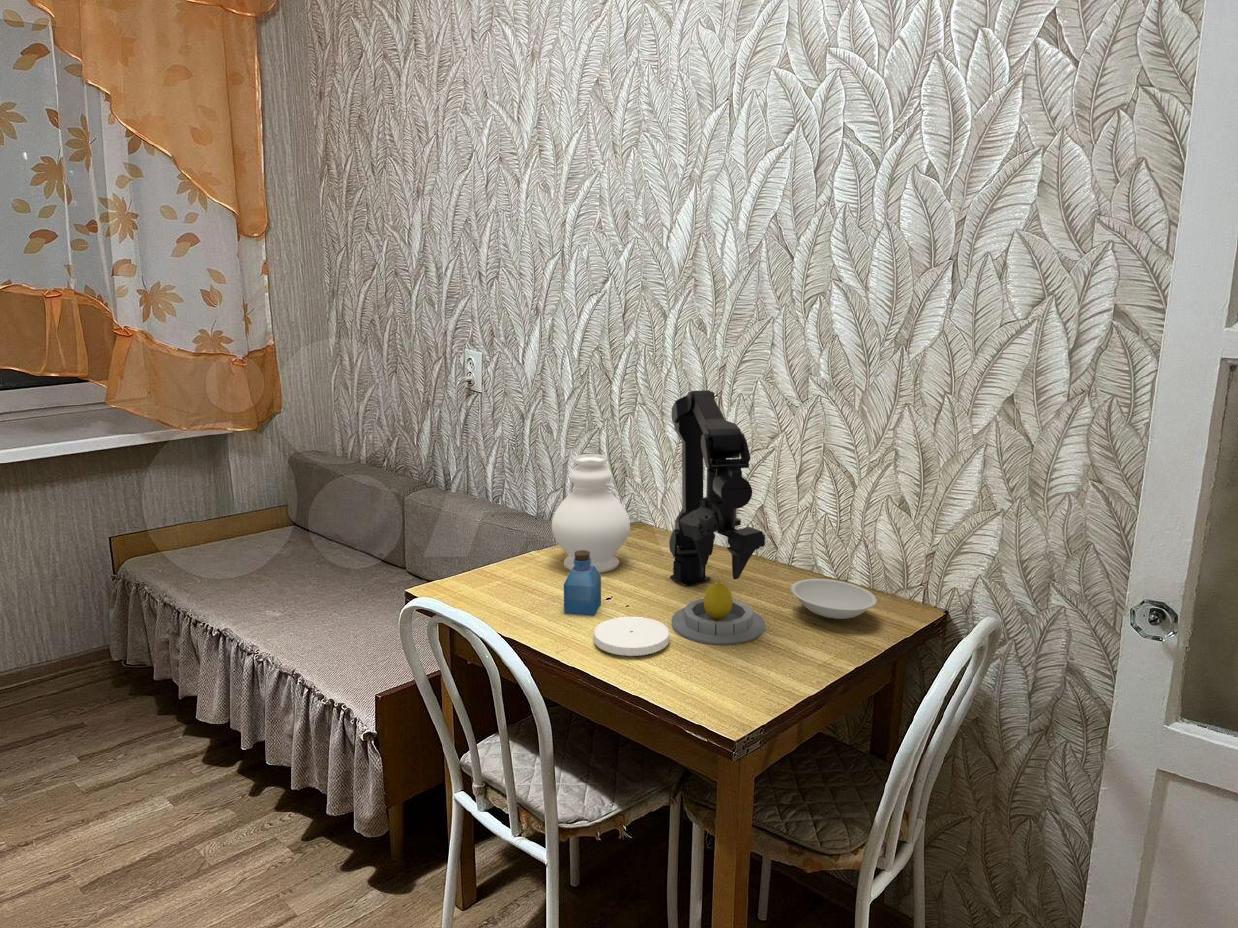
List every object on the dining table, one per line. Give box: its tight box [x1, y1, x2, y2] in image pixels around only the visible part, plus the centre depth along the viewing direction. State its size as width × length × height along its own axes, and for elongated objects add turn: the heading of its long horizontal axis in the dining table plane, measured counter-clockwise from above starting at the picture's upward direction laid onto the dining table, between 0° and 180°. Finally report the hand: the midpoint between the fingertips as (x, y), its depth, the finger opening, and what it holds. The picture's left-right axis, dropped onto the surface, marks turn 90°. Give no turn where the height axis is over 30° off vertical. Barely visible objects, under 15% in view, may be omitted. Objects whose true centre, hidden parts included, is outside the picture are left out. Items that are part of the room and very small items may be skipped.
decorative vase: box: [551, 453, 631, 574], centre depth 215 cm, size 18×18×25 cm
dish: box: [790, 578, 878, 620], centre depth 187 cm, size 18×14×5 cm
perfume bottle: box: [563, 550, 602, 617], centre depth 191 cm, size 6×6×12 cm
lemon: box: [703, 581, 733, 621], centre depth 183 cm, size 6×6×8 cm
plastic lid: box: [593, 616, 670, 657], centre depth 176 cm, size 14×14×2 cm
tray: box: [671, 598, 766, 646], centre depth 184 cm, size 18×18×3 cm
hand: (719, 571), depth 181 cm, fingers open, 9 cm apart
